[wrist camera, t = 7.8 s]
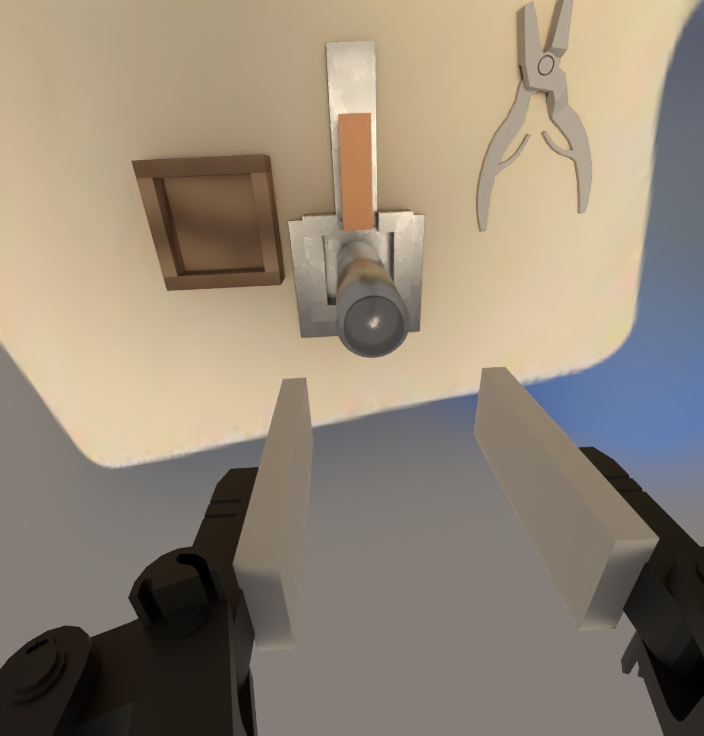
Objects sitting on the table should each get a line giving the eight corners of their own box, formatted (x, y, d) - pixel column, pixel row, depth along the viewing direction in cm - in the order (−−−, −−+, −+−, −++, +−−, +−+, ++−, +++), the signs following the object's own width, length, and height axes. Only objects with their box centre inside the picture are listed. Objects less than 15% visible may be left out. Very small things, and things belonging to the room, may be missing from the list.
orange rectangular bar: (338, 118, 29) (338, 113, 27) (368, 117, 29) (371, 112, 27) (343, 227, 32) (343, 230, 30) (370, 226, 33) (373, 229, 30)
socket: (269, 47, 27) (262, 32, 25) (430, 40, 28) (440, 25, 25) (301, 335, 38) (299, 347, 35) (418, 329, 38) (424, 340, 35)
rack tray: (148, 162, 30) (131, 160, 28) (269, 156, 31) (263, 154, 28) (179, 282, 35) (167, 290, 33) (284, 277, 35) (280, 284, 33)
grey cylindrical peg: (335, 242, 33) (333, 292, 19) (379, 240, 33) (413, 288, 19) (337, 286, 35) (338, 364, 20) (379, 284, 35) (410, 360, 20)
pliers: (481, 233, 33) (479, 12, 26) (475, 231, 34) (471, 20, 27) (594, 212, 32) (621, -18, 26) (583, 211, 34) (606, -8, 27)
